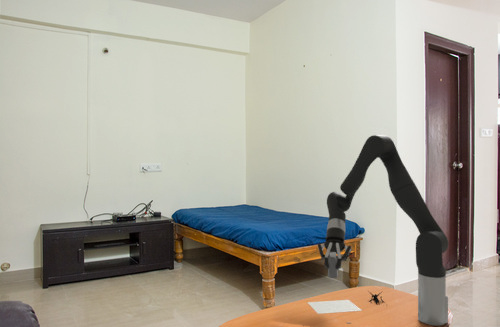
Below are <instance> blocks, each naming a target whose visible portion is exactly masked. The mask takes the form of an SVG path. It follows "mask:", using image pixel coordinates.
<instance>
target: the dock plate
mask: <svg viewBox="0 0 500 327" xmlns="http://www.w3.org/2000/svg"><path fill="white" fill-rule="evenodd" d="M307 304H308V305H309V306H310V307H311V309H313V310H314V311H315V313H317V314H318V315H320V314H323V315H324V314H334V313H335V314H336V313H348V312H350V313H351V312H362V311H363V309H361V308H359V307H358V306H357V305H356V304H355V303H353V302H352V301H351V300H350V299H341V300H340V299H339V300H326V301H325V300H324V301H310V302H307Z"/></svg>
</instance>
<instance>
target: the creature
mask: <svg viewBox="0 0 500 327" xmlns="http://www.w3.org/2000/svg"><path fill="white" fill-rule="evenodd" d="M367 292H369V294H370V295H371V298H370V300H369V301H368V302H372V301H374V302H375V304H376V305H380V300H381V302H382V303H385V301H384V300H383V299H382V298H383V296H382V295H381V296H380V294H382V293H383V291H381V292H379V293H378V294H376V293H375V294H373V293H372V292H370V291H369V290H367ZM378 297H380V298H378ZM379 299H380V300H379ZM387 306H388V305H386V308H387Z"/></svg>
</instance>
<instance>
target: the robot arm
mask: <svg viewBox="0 0 500 327" xmlns="http://www.w3.org/2000/svg"><path fill="white" fill-rule="evenodd" d="M378 158H379V159H380V161H381V163H383V165H384V167H385V169H386V172H387V178H388V186H389V189H390V192H391V195H393V199H394V200H395V201H396V203H397V205H398V207H400V209H402V211H403V212H404V213H405V214H406V216H408V217H409V219H411V221H412V222H413V223H414V225H415V227H416V228H417V230H418V233H419V235H418V236H417V238H416V240H415V263H416V267H417V320H418V321H419V322H421V323H423V324H426V325H429V326H435V327H436V326H444V325H445V324H449V297H448V296H447V295H446V294H447V293H446V292H447V291H446V289H447V286H446V283H447V282H446V278H447V277H446V275H447V272H446V271H447V270H446V268H445V266H444V265H443V254H444V253H445V252H446V251H447V250H448V249H449V240H448V237H447V235H446V234H445V232H444V231H443V229H442V228H441V227H440V225H439V223H437V221H436V220H435V218H434V217H433V215H432V213H431V212H430V208H428V205H427V204H426V202H425V200H424V198H423V196H422V194H421V192H420V191H419V189H418V187H417V185H416V183H415V182H414V179H413V178H412V177H411V175H410V173H409V171H408V169H407V168H406V166H405V165H404V163H403V161H402V159H401V157H400V153H399V152H398V149H397V147H396V144H395V143H394V140H393V139H392V138H391V137H390V136H388V135H385V134H381V135H380V134H374V135H373V134H372V135H371V136H369V137H368V138H366V141H365V142H364V144H363V146H362V148H361V150H360V152H359V154H358V157H357V159H356V161H355V162H354V164H353V166H352V167H351V170H350V171H349V173H348V174H347V176H346V177H345V178H344V180H343V181H342V183H341V184H340V186H339V188H340V191H341V192H342V193H343V194H342V193H339V192H336V191H332V192H330V193H329V194H328V195H327V196H326V197H327V198H326V205H327V210H328V215H329V216H328V222H327V223H328V224H327V226H326V235H325V241H324V243H322V244H321V243H318V244H317V249H318V252H319V255H320V258H321V260H324V268H325V269H326V270H328V256H330V252H336V256H337V257H338V259H337V270H338V271H339V270H341V269H342V262H346V261H347V260H348V258H349V256H350V254H351V252H352V246H351V245H347V244H346V243H345V240H346V239H345V238H346V218H347V217H346V216H347V215H346V212H348V211H349V209H350V208H351V205H352V202H353V200H354V197H355V195H356V193H357V192H358V191H359V189H360V187H361V186H362V185H363V183H364V181H365V178H366V175H367V172H368V169H369V167H370V166H371V165H372V164H373V163H374V162H375V161H376V160H377V159H378ZM324 248H325V250H326V253H325V254H324ZM344 249H345V250H344ZM343 251H345V252H344V254H343V255H342V254H341V253H342V252H343Z"/></svg>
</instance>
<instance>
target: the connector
mask: <svg viewBox="0 0 500 327" xmlns="http://www.w3.org/2000/svg"><path fill="white" fill-rule="evenodd" d="M337 259H338V255H337V254H336V252H330V256H328V269H327V277H329V278H330V279H331V278H332V279H336V278H338V276H339V270H337Z"/></svg>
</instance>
